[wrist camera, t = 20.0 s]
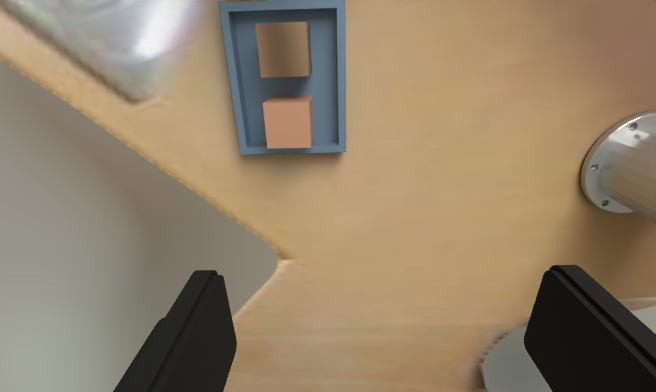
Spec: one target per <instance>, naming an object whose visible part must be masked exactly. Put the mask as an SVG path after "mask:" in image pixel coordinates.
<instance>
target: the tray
mask: <svg viewBox="0 0 656 392" xmlns="http://www.w3.org/2000/svg"><path fill="white" fill-rule="evenodd" d="M218 4H219V11H220V18H221V25H222V31H223V38H224V45H225V52H226V58H227V65H228V72H229V79H230V85H231V92H232V99H233V106H234V112H235V119H236V126H237V133H238V139H239V146H240V153H241V155H244V154H287V153H329V152H346V56H345V0H261V1H233V2H218ZM283 22H307V23H308V24H309V25H310V40H311V61H312V73H311V74H310V75H309V76H298V77H266V78H261V72H260V63H259V54H258V45H257V36H256V27H255V23H283ZM271 96H312V106H313V133H314V136H313V141H312V145H311V148H267V140H266V130H265V120H264V111H263V103H264V102H265V101H266V100H268V99H269V98H270V97H271Z"/></svg>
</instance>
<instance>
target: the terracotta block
mask: <svg viewBox="0 0 656 392" xmlns="http://www.w3.org/2000/svg"><path fill="white" fill-rule="evenodd" d="M263 111H264V120H265V130H266V140H267V148H311V145H312V141H313V136H314V133H313V106H312V96H271V97H270V98H269V99H268V100H266V101H265V102H264V103H263Z"/></svg>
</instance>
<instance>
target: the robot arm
mask: <svg viewBox="0 0 656 392" xmlns="http://www.w3.org/2000/svg"><path fill="white" fill-rule="evenodd" d="M581 186H582V189H583V192H584V194H585V196H586V197H587V199H588V200H590V201H591V202H592V203H593V204H594V205H596V206H598V207H599V208H601V209H603V210H606V211H609V212H614V213H630V212H636V213H638V214H640V215H642V216H644V217H646V218H647V219H649V220H651V221H653V222H655V223H656V111H649V112H644V113H640V114H637V115H634V116H631V117H629V118H627V119H625V120H623V121H621V122H619V123H617V124H616V125H615V126H613V127H612V128H611V129H609V130H608V131H607V132H606V133H604V134H603V135H602V136H601V137H600V138H599V139H598V140H597V142H596V143H595V144H594V145H593V147H592V148H591V149H590V151H589V153H588V155H587V156H586V158H585V161H584V164H583V166H582V171H581ZM236 345H237V341H236V336H235V331H234V326H233V321H232V316H231V312H230V307H229V302H228V297H227V292H226V287H225V282H224V278H223V276H222V275H218V274H217V272H216V271H215V270H199V271H198V270H197V271H194V272H193V274H192V275H191V277H190V278H189V280H188V282H187V283H186V285H185V287H184V288H183V290H182V292H181V293H180V295H179V296H178V298H177V299H176V301H175V303H174V304H173V306H172V307H171V309H170V311H169V312H168V314H167V315H166V317H165V318H162V319H161V320H159V322H158V323H157V324H156V325H155V327H154V329H153V330H152V332H151V333H150V335H149V336H148V338H147V339H146V341H145V343H144V345H143V346H142V347H141V349H140V350H139V352H138V354H137V355H136V357H135V358H134V360H133V361H132V363H131V365H130V366H129V368H128V369H127V371H126V372H125V374H124V376H123V377H122V379H121V380H120V382H119V383H118V385H117V387H116V388H115V390H114V391H113V392H223V390H224V387H225V384H226V381H227V378H228V375H229V371H230V368H231V365H232V362H233V359H234V356H235V352H236ZM524 345H525V348H526V350H527V352H528V353H529V355H530V357H531V358H532V360H533V361H534V363H535V364H536V366H537V368H538V369H539V371H540V372H541V374H542V375H543V377H544V379H545V380H546V382H547V383H548V385H549V387H550V388H551V390H552V391H553V392H656V334H655V333H653V332H652V331H651V330H650V329H649V328H648V327H647V326H646V325H645V324H643V323H642V322H641V321H640V320H639V319H638V318H637V317H636V316H634V315H633V314H632V313H631V312H630V311H629V310H628V309H627V308H625V307H624V306H623V305H622V304H621V303H620V302H619V301H618V300H616V299H615V298H614V297H613V296H612V295H611V294H610V293H609V292H607V291H606V290H605V289H604V288H603V287H602V286H601V285H600V284H598V283H597V282H596V281H595V280H594V279H593V278H592V277H591V276H589V275H588V274H587V273H586V272H585V271H584V270H583V269H582V268H580V267H579V266H576V265H554V266H552V267H551V268H550V269H549V271H546V272H545V273H544V275H543V278H542V282H541V285H540V288H539V291H538V294H537V297H536V301H535V304H534V307H533V310H532V313H531V317H530V320H529V323H528V326H527V330H526V333H525V336H524Z"/></svg>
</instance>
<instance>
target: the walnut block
mask: <svg viewBox="0 0 656 392" xmlns="http://www.w3.org/2000/svg"><path fill="white" fill-rule="evenodd" d="M255 27H256V36H257V45H258V54H259V63H260V72H261V78H266V77H298V76H309V75H310V74H311V73H312V61H311V40H310V25H309V24H308V23H307V22H283V23H255Z"/></svg>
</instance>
